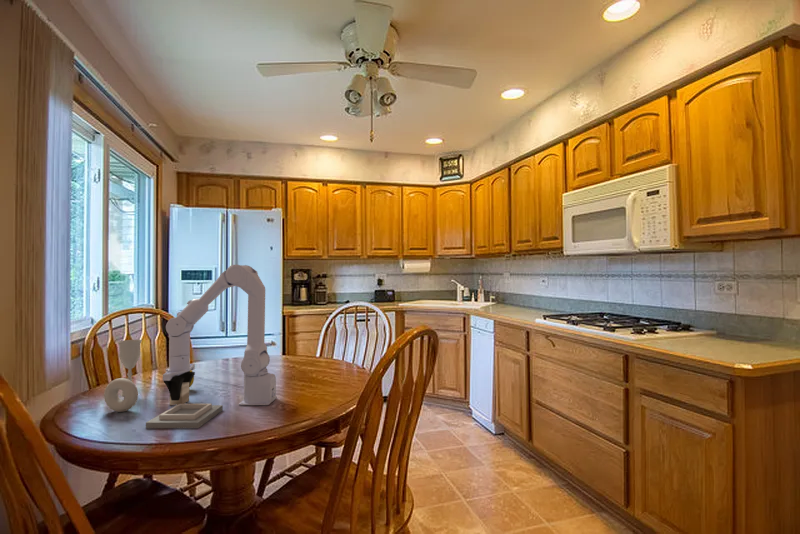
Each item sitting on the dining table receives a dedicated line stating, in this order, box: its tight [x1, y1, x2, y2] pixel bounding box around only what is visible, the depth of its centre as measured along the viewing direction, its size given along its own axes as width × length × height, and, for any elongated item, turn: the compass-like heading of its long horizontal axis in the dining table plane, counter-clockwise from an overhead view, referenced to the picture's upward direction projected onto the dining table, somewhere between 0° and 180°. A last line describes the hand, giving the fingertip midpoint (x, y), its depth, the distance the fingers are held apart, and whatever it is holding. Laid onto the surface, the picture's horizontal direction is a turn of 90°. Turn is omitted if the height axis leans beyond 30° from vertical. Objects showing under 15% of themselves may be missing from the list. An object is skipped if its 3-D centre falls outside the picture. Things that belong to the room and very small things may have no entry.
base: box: [145, 403, 223, 429], centre depth 113 cm, size 14×14×3 cm
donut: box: [103, 377, 139, 413], centre depth 119 cm, size 10×4×10 cm, turn 84°
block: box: [169, 382, 190, 406], centre depth 127 cm, size 4×4×6 cm
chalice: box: [117, 339, 143, 397], centre depth 137 cm, size 7×7×18 cm
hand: (179, 397), depth 127 cm, fingers closed on block, 4 cm apart
